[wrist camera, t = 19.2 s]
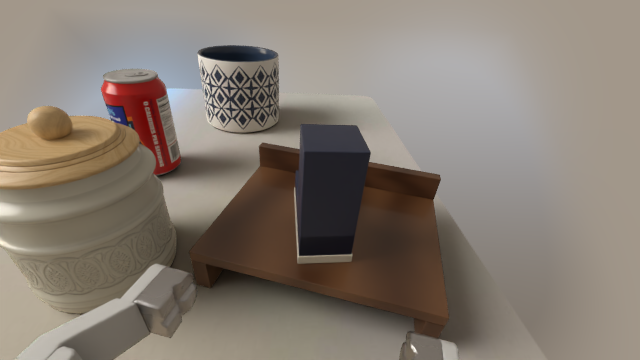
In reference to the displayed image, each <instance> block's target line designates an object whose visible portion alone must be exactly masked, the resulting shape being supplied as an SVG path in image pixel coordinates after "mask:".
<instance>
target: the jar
mask: <svg viewBox="0 0 640 360" xmlns="http://www.w3.org/2000/svg"><path fill="white" fill-rule="evenodd" d="M27 122H28V123H26V124H22V125H19V126H16V127H13V128H10V129H8V130H5V131H3V132H1V133H0V247H2V248H3V249H5V251H6V252H7V253H8V255H9V256H10V257H11V259H12V260H13V261H14V263H15V264H16V265H17V267H18V268H19V269H20V271H21V272H22V273H23V275H24V276H25V277H26V279H27V283H28V286H29V287H30V289H31V290H32V291H33V292H34V294H35V295H36V296H37V298H39V299H40V300H41V301H43V302H44V303H46V304H48V305H49V306H51V307H52V308H54V309H56V310H59V311H62V312H67V313H87V312H89V311H91V310H93V309H95V308H97V307H99V306H101V305H103V304H105V303H107V302H109V301H111V300H113V299H115V298H119V299H120V298H121V297H122V296H123V295H124V294H125V293H126V292H127V291H128V290H129V289H130V288H131V287H132V286H133V284H134V283H135V282H136V281H137V280H138V279H139V278H140V277H141V276H142V275H143V274H144V273H145V272H146V271H147V270H148V268H149V267H150V266H152V265H154V264H155V263H156V264H160V265H164V266H168V267H170V266H171V264H172V262H173V260H174V257H175V254H176V242H177V237H176V232H175V228H174V225H173V223H172V222H171V220H170V217H169V213H168V210H167V206H166V202H165V199H164V195H163V185H162V183H161V181H160V179H159V178H158V177H157V176H156V175H155V174H154V173H153V172H154V169H155V166H156V158H155V156H154V154H153V152H152V151H151V150H150V149H149V148H147V147H145V146H144V145H142V144H139V142H140V139H139V135H138V134H137V132H136V131H135V130H133V129H132V128H130V127H128V126H125V125H122V124H119V123H115V122H112V121H110V120H108V119H104V118H101V117H94V116H68V115H67V114H66V113H65V112H64V111H63V110H61V109H59V108H57V107H52V106H42V107H38V108H36V109H34V110H32V111H31V112H30V113H29V115H28V119H27Z"/></svg>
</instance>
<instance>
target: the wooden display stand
mask: <svg viewBox="0 0 640 360" xmlns="http://www.w3.org/2000/svg"><path fill="white" fill-rule="evenodd" d="M299 153H300V149H295V148H289V147H284V146H278V145H273V144H267V143H262V144H261V145H260V146H259V154H260V167H259V168H258V169H257V171H256V172H255V173H254V174H253V175H252V177H251V178H250V179H249V180H248V181H247V183H246V184H245V185H244V186H243V187H242V189H241V190H240V191H239V192H238V193H237V195H236V196H235V197H234V198H233V199H232V201H231V202H230V203H229V204H228V205H227V207H226V208H225V209H224V210H223V211H222V213H221V214H220V215H219V216H218V217H217V219H216V220H215V221H214V222H213V223H212V225H211V226H210V227H209V228H208V229H207V231H206V232H205V233H204V234H203V235H202V237H201V238H200V239H199V240H198V241H197V243H196V244H195V245H194V246H193V247H192V249H191V250H190V251H189V254H190V258H191V262H192V266H193V270H194V274H195V278H196V282H197V285H201V286H204V287H208V288H211V287H212V285H213V284H214V282H215V281H216V279H217V278H218V276H219V275H220V273H221V272H222V270H223V269H228V270H232V271H236V272H240V273H244V274H247V275H251V276H255V277H259V278H263V279H267V280H270V281H274V282H278V283H282V284H286V285H290V286H293V287H297V288H301V289H305V290H309V291H313V292H316V293H320V294H324V295H328V296H332V297H336V298H339V299H343V300H347V301H351V302H355V303H359V304H363V305H366V306H370V307H374V308H378V309H382V310H386V311H389V312H393V313H397V314H401V315H405V316H409V317H412V318H414V328H415V333H419V334H423V335H427V336H431V337H435V338H439V336H440V334H441V332H442V330H443V329H444V327H445V325H446V323H447V321H448V320H449V312H448V305H447V298H446V290H445V283H444V276H443V268H442V261H441V253H440V246H439V239H438V231H437V224H436V216H435V209H434V202H433V199H434V197H435V194H436V191H437V189H438V186H439V183H440V180H441V178H440V175H437V174H432V173H427V172H421V171H416V170H410V169H405V168H399V167H394V166H388V165H383V164H377V163H372V162H369V164H368V169H367V174H366V180H365V185H364V190H363V195H362V201H361V206H360V211H359V216H358V222H357V227H356V232H355V238H354V243H353V249H352V261H351V262H336V263H306V264H298V262H297V242H296V222H295V202H294V187H295V174H296V170H297V171H299Z"/></svg>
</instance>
